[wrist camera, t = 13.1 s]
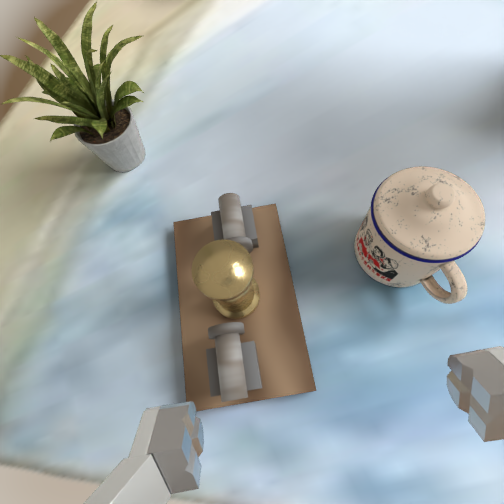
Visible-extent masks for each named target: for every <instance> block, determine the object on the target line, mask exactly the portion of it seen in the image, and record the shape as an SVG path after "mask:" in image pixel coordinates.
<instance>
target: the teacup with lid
mask: <svg viewBox="0 0 504 504" xmlns="http://www.w3.org/2000/svg"><path fill="white" fill-rule="evenodd" d="M484 226H485V213H484V208H483V205H482V202H481V200H480V198H479V197H478V195H477V194H476V192H475V191H474V190H473V189H472V187H471V186H470V185H469V184H467V183H466V182H465V181H464V180H462V179H461V178H459V177H458V176H456V175H454V174H452V173H450V172H448V171H445V170H442V169H438V168H433V167H412V168H407V169H404V170H401V171H398V172H396V173H394V174H392V175H391V176H389V177H388V178H386V179H385V180H384V181H383V182H382V183H381V184H380V185H379V186H378V188H377V189H376V191H375V193H374V195H373V198H372V202H371V207H370V209H369V211H368V213H367V215H366V217H365V219H364V221H363V223H362V224H361V226H360V228H359V230H358V232H357V235H356V238H355V244H354V249H355V254H356V258H357V260H358V262H359V264H360V266H361V267H362V269H363V270H364V271H365V272H366V273H367V274H368V275H369V276H370V277H372V278H373V279H375V280H376V281H378V282H380V283H382V284H385V285H388V286H392V287H409V286H413V285H416V284H419V283H422V285H423V286H424V288H425V289H426V290H427V292H428V293H429V294H430V295H431V296H432V297H433V298H435V299H436V300H438V301H440V302H443V303H447V304H452V303H456V302H458V301H461V300H462V299H464V298H465V296H466V294H467V284H466V280H465V278H464V276H463V274H462V272H461V270H460V269H459V267H458V266H457V264H456V263H455V262H454V260H456V259H459V258H461V257H463V256H464V255H466V254H467V253H469V252H470V251H471V250H472V249H473V248H474V247H475V246H476V245H477V243H478V242H479V240H480V238H481V236H482V233H483V231H484ZM439 269H441V270H442V271H443V273H444V274H445V276H446V278H447V279H448V281H449V284H450V287H451V293H450V292H447V291H445V290H444V289H443V288H442V287H441V286H440V285H439V284H438V283H437V282H436V280H435V279H434V277H433V276H432V274H434V273H435V272H437V271H438V270H439Z"/></svg>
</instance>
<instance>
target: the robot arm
mask: <svg viewBox="0 0 504 504" xmlns="http://www.w3.org/2000/svg"><path fill="white" fill-rule="evenodd" d="M448 366H449V368H450V369H451V370H452V371H451V372H450V373H449V374H448V375H447V387H448V391H449V394H450V396H451V398H452V399H453V401H454V403H455V404H456V405H457V407H458V408H459V409H461V410H463V411H465V412H467V413H468V414H469V416H468V421H469V423H470V424H471V425H472V427H473V428H474V429H475V431H476V432H477V433H478V435H479V436H480V437H481V439H482V440H483V441H484V442H487V441H494V440H502V439H504V347H501V346H499V347H493V348H488V349H483V350H476V351H471V352H466V353H460V354H455V355H450V357H449V358H448ZM195 415H196V407H195V405H194V402H192V401H190V402H183V403H176V404H170V405H163V406H158V407H151V408H146V410H145V411H144V412H143V414H142V417H141V420H140V424H139V427H138V430H137V433H136V436H135V439H134V442H133V445H132V448H131V451H130V454H129V457H128V458H125V459H123V460H122V461H121V462H120V463H119V464H118V466H117V467H116V468H115V469H114V470H113V471H112V472H111V473H110V475H109V476H108V477H107V478H106V479H105V480H104V481H103V482H102V483H101V485H100V486H99V487H98V488H97V489H96V490H95V491H94V492H93V493H92V495H91V496H90V497H89V498H88V499H87V500H86V501H85V502H84V504H167V502H168V500H169V499H170V497H171V494H174V493H179V492H184V491H189V490H194V489H199V482H200V473H201V463H200V461H199V458H198V457H199V456H200V454H201V453H202V452H203V445H204V436H203V427H202V423H201V420H200V419H199V418H198V417H196V416H195Z"/></svg>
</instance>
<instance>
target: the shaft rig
mask: <svg viewBox="0 0 504 504" xmlns="http://www.w3.org/2000/svg"><path fill="white" fill-rule="evenodd" d="M218 200H219V208H220V211H214V212H211V216H205V217H200V218H194V219H189V220H183V221H178V222H174V236H175V250H176V264H177V278H178V291H179V305H180V319H181V333H182V347H183V361H184V375H185V389H186V402H190V401H192V402H194V405H195V407H196V411H201V410H206V409H212V408H218V407H224V406H230V405H235V404H241V403H247V402H253V401H259V400H265V399H270V398H276V397H282V396H288V395H294V394H300V393H305V392H311V391H316V387H315V382H314V378H313V373H312V368H311V364H310V359H309V355H308V350H307V345H306V341H305V336H304V332H303V327H302V322H301V318H300V313H299V309H298V304H297V299H296V295H295V290H294V286H293V281H292V277H291V272H290V267H289V263H288V258H287V254H286V249H285V244H284V240H283V235H282V231H281V226H280V221H279V217H278V212H277V208H276V204H271V205H266V206H260V207H255V208H252V206H251V205H247V206H242V207H241V204H240V199H239V196H238V195H237V194H234V193H227V194H224V195H222V196H220V197H219V199H218ZM222 239H227V240H232V241H235V242H238V243H239V244H241V245H242V246H244V247H245V248H246V249H247V251H248V252H249V254H250V256H251V258H252V263H253V267H254V275H253V278H254V279H255V281H256V282H257V284H258V287H259V291H260V301H259V304H258V306H257V308H256V310H255V311H254V312H253V313H252V314H251V315H249V316H248V317H245V318H243V319H230V318H227V317H225V316H223V315H222V314H221V313H220V312H219V311H218V310H217V309H216V307H215V305H214V303H213V300H212V299H210V298H208V297H207V296H205V295H204V294H203V293H202V292H201V291H200V290H199V289H198V288H197V286H196V285H195V283H194V281H193V278H192V270H191V269H192V263H193V260H194V258H195V256H196V254H197V253H198V252H199V250H200V249H201V248H202V247H204V246H205V245H207V244H208V243H210V242H213V241H216V240H222Z"/></svg>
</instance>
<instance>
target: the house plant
mask: <svg viewBox="0 0 504 504" xmlns="http://www.w3.org/2000/svg"><path fill="white" fill-rule="evenodd" d="M96 3H97V2H96ZM96 3H94V5H93V6H92V7H91V8H90V9H89V11H88V12H87V14H86V16H85V18H84V22H83V26H82V34H81V49H82V55H83V59H84V62H85V68H86V72H87V76H88V80H89V82H88V80H87V78H86V77H85V75H84V74H83V73H82V71H81V70H80V68H79V66H78V64H77V63H76V61H75V59H74V58H73V56H72V55H71V53H70V51H69V50H68V48H67V47H66V45H65V44H64V43H63V41H62V40H61V39H60V37H59V36H58V35H57V34H55V33H54V32H53V31H52V30H50V29H49V28H48V27H47V26H45V24H44V23H43V22H42V21H40V20H38V19H36V18H34V19H35V21H36V23H37V25H38V26H39V28H40V29H41V31H42V32H43V34H44V35H45V36H46V38H47V39H48V40H49V41H50V43H51V44H52V46H53V47H54V48H55V50H56V52H57V53H58V55H59V56H60V58H61V60H62V61H63V62H62V61H60V60H59V59H58V58H57V57H56V56H55V55H54V54H52V53H51V52H50V51H48V50H46V49H44V48H43V47H41V46H39V45H37V44H34V43H32V42H30V41H27V40H24V39H20V38H19V39H20V40H22V41H24V42H26V43H28V44H29V45H31V46H33V47H35V48H36V49H38V50H40V51H42V52H43V53H44V54H46V55H47V56H48V57H49V58H50V59H51V60H52V61H53V62H54V63H56V64H57V65H58V66H59V67H60V68H61V69H62V70H63V71H64V73H65V74H66V75H67V76H68V77H69V78H67V77H65V76H64V74H62V73H61V72H60V71H59V70H58V69H57V68H56V67H55V66H54V65H52V64H51V63H50V64H51V67H52V69H53V71H54V73H55V75H56V77H57V78H58V79H57V78H56V77H55V76H53V75H52V74H51V73H49V72H48V71H46V70H45V69H43V68H42V67H40V66H39V65H37V64H34V63H33V62H32V61H31V60H30V59H29V58H28V57H27V56H26V57H27V60H28V62H27V61H24V60H21V59H18V58H16V57H13V56H10V55H9V56H7V55H0V56H1V57H3V58H4V59H6V60H8V61H10V62H11V63H13V64H14V65H16V66H18V67H20V68H21V69H23V70H24V71H26V72H27V73H29V74H30V75H32V76H33V77H35V78H36V79H37V82H38V83H39V85H40V86H41V87H42V88H43V90H44V91H43V92H42V93H44V94H48V95H50V96H51V97H52V98H54V99H55V100H56V101H58V102H59V103H57V102H54V101H51V100H47V99H42V98H36V97H20V98H13V99H9V100H7V101H6V102H4V103H3V104H6V103H11V102H20V101H32V102H41V103H47V104H52V105H56V106H59V107H63V108H66V109H69V110H72V111H73V113H74V114H75V115H76V116H77V117H74V116H42V117H38V118H35V119H38V120H48V121H51V122H55V123H62V124H74V126H62V127H59V128H57V129H56V130H55V131H54V133H53V135H52V137H51V140H52V139H57V138H61V137H64V136H67V135H69V134H72V133H75V136H76V137H77V139H78V140H79V141H80V142H81V143H82V144H84V145H85V146H86V147H87V148H88V149H89V150H91V151H92V152H93V153H94V154H95V155H97V156H98V157H99V158H100V159H101V160H102V161H104V162H105V163H106V164H107V165H108V166H110V167H111V168H112V169H114V170H115V171H118V172H127V171H130V170H132V169H134V168H136V167H137V166H139V165H140V164H141V163H142V161H143V160H144V157H145V149H144V146H143V143H142V140H141V137H140V134H139V131H138V129H137V126H136V123H135V120H134V117H133V114H132V111H131V109H130V108H129V106H130V105H132V104H133V103H136V102H140V101H141V100H139V99H138V98H136V97H135V96H126V95H128V94H131V93H133V92H136V91H142V90H141V89H140V88H139V86H138V85H137V84H136V83H135V82H132V81H127V82H124V83H123V84H122V85H121V86H120V87H119V88H118V90H117V92H116V94H115V99H114V100H112V98H111V91H110V74H111V72H112V71H111V72H110V68H111V63H112V61H113V59H114V58H115V56H116V55H117V54H118V52H119V51H120V50H121V49H122V48H123V47H124V46H125V45H126V44H128V43H130V42H132V41H135V40H137V39H139V38H140V37H142V36H136V37H130V38H127V39H124V40H122V41H120V42H119V43H118V44H117V45H115V47H114V48H113V49H112V50H111V51H110V52H109V54H108V55H107V57H106V50H107V43H108V36H109V33H110V31H111V29H112V26H113V25H112V26H111V27H110V28H108V29H107V31H106V32H105V33H104V35H103V38H102V41H101V47H100V64H96V65H94V66H93V62H92V52H95V51H97V50H93V49H91V33H92V16H93V13H94V10H95V8H96ZM101 73H102V81H103V82H102V83H101ZM103 92H104V93H103ZM142 92H143V91H142ZM143 93H144V92H143ZM124 96H125V97H124ZM122 97H123V98H122ZM119 99H120V100H119ZM141 102H143V101H141ZM51 140H50V142H51Z"/></svg>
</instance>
